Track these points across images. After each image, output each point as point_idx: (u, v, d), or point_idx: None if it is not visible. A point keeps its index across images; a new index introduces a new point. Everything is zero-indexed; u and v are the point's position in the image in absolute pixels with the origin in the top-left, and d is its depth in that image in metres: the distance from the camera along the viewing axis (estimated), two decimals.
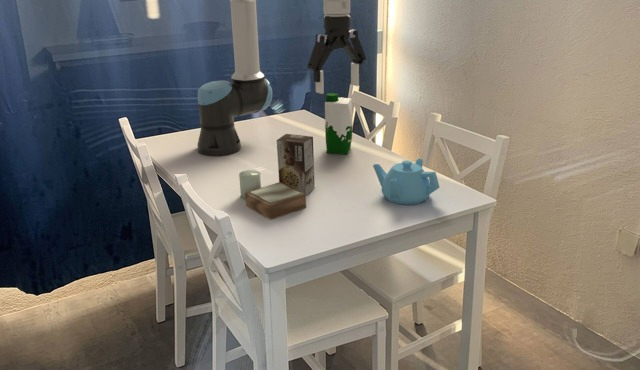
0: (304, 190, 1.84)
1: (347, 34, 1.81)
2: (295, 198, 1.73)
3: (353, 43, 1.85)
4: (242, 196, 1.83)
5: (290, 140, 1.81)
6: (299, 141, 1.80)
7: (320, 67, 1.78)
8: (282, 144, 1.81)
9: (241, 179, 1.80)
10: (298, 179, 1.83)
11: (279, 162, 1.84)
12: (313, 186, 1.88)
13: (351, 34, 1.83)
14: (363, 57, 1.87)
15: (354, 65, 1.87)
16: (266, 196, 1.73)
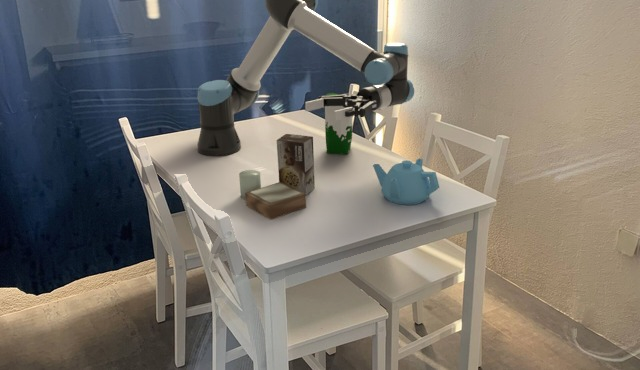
0: (304, 190, 1.84)
1: None
2: (295, 198, 1.73)
3: None
4: (242, 196, 1.83)
5: (290, 140, 1.81)
6: (299, 141, 1.80)
7: None
8: (282, 144, 1.81)
9: (241, 179, 1.80)
10: (298, 179, 1.83)
11: (279, 162, 1.84)
12: (313, 186, 1.88)
13: None
14: None
15: (322, 104, 1.94)
16: (266, 196, 1.73)
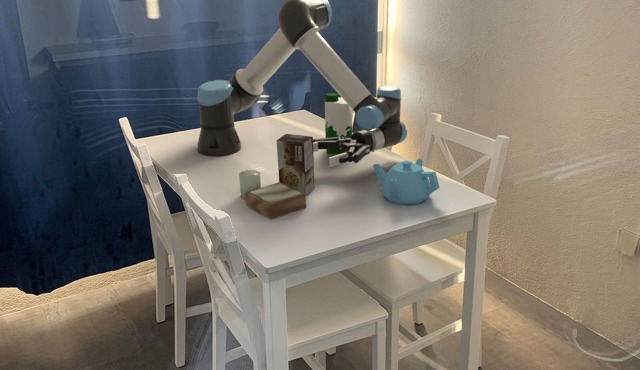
0: (304, 190, 1.84)
1: None
2: (295, 198, 1.73)
3: (331, 141, 2.00)
4: (242, 196, 1.83)
5: (290, 140, 1.81)
6: (299, 141, 1.80)
7: None
8: (282, 144, 1.81)
9: (241, 179, 1.80)
10: (298, 179, 1.83)
11: (279, 162, 1.84)
12: (313, 186, 1.88)
13: None
14: None
15: (316, 147, 1.97)
16: (266, 196, 1.73)
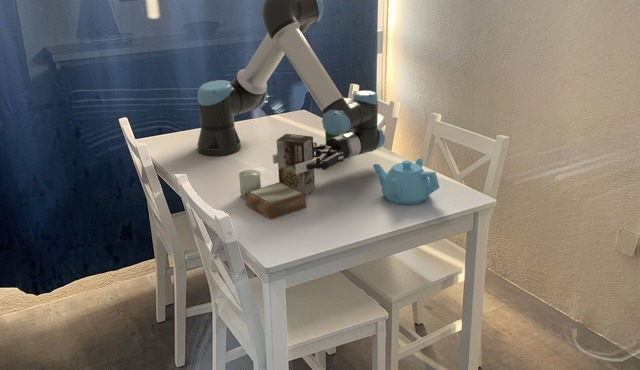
0: (304, 190, 1.84)
1: None
2: (295, 198, 1.73)
3: None
4: (242, 196, 1.83)
5: (290, 140, 1.81)
6: (298, 141, 1.80)
7: None
8: (282, 144, 1.81)
9: (241, 179, 1.80)
10: (298, 179, 1.83)
11: (279, 162, 1.84)
12: (313, 186, 1.88)
13: None
14: None
15: None
16: (266, 196, 1.73)
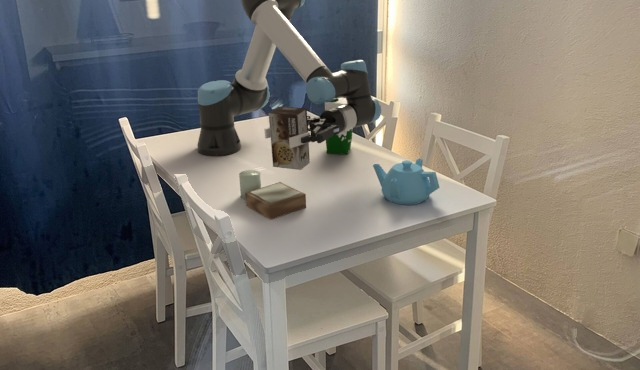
0: (299, 165, 1.75)
1: None
2: (295, 198, 1.73)
3: None
4: (242, 196, 1.83)
5: (283, 112, 1.71)
6: (292, 113, 1.70)
7: None
8: (275, 116, 1.72)
9: (241, 179, 1.80)
10: (293, 154, 1.74)
11: (272, 136, 1.75)
12: (308, 161, 1.79)
13: None
14: None
15: None
16: (266, 196, 1.73)
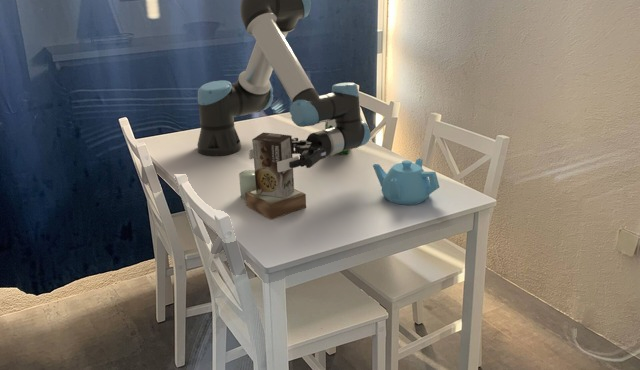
0: (282, 193, 1.71)
1: None
2: (295, 198, 1.73)
3: None
4: (242, 196, 1.83)
5: (266, 139, 1.68)
6: (276, 141, 1.67)
7: None
8: (258, 143, 1.68)
9: (241, 179, 1.80)
10: (276, 182, 1.70)
11: (255, 163, 1.71)
12: (292, 189, 1.75)
13: None
14: None
15: None
16: (266, 196, 1.73)
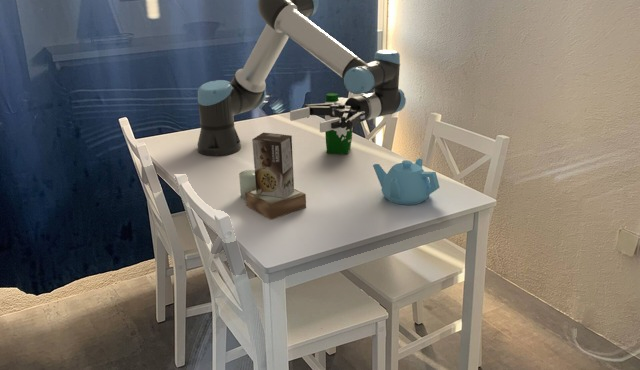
0: (282, 193, 1.71)
1: None
2: (295, 198, 1.73)
3: None
4: (242, 196, 1.83)
5: (267, 139, 1.68)
6: (276, 140, 1.67)
7: None
8: (258, 143, 1.68)
9: (241, 179, 1.80)
10: (276, 182, 1.70)
11: (255, 163, 1.71)
12: (292, 189, 1.75)
13: None
14: None
15: (308, 113, 1.84)
16: (266, 196, 1.73)
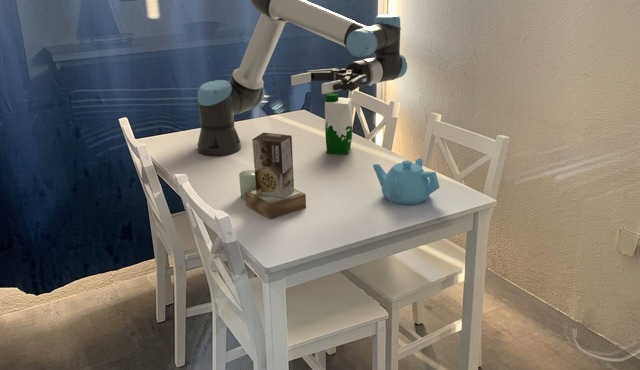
0: (282, 193, 1.71)
1: None
2: (295, 198, 1.73)
3: None
4: (242, 196, 1.83)
5: (267, 139, 1.68)
6: (276, 140, 1.67)
7: None
8: (258, 143, 1.68)
9: (241, 179, 1.80)
10: (276, 182, 1.70)
11: (255, 163, 1.71)
12: (292, 189, 1.75)
13: None
14: None
15: (309, 78, 1.83)
16: (266, 196, 1.73)
